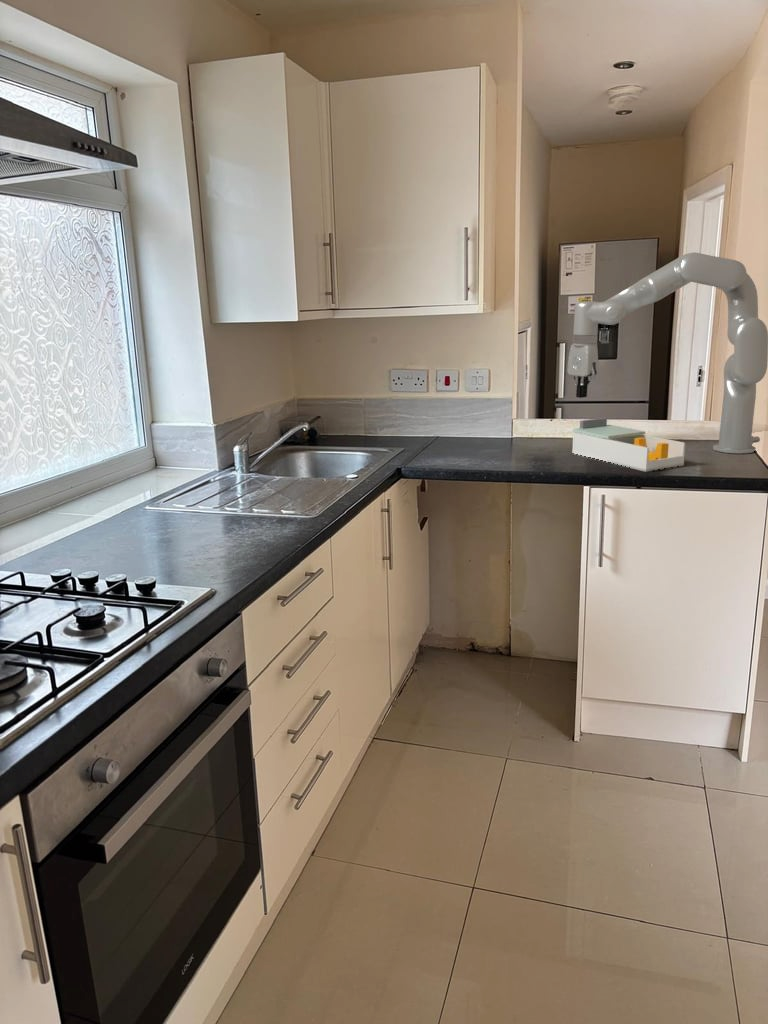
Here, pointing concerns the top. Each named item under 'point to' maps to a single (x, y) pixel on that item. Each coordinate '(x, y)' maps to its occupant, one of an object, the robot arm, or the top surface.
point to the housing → (629, 451)
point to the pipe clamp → (660, 450)
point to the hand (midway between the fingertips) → (581, 397)
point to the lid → (605, 429)
